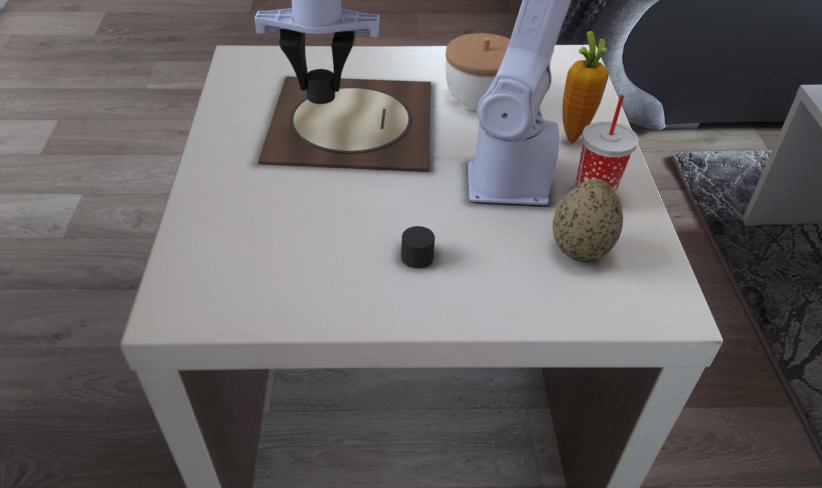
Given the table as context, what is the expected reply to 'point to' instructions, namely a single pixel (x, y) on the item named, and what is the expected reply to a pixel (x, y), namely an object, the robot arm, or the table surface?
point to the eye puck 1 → (320, 86)
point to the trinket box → (473, 66)
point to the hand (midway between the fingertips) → (320, 87)
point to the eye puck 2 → (417, 246)
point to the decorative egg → (588, 221)
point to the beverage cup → (606, 150)
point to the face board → (352, 126)
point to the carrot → (584, 89)
